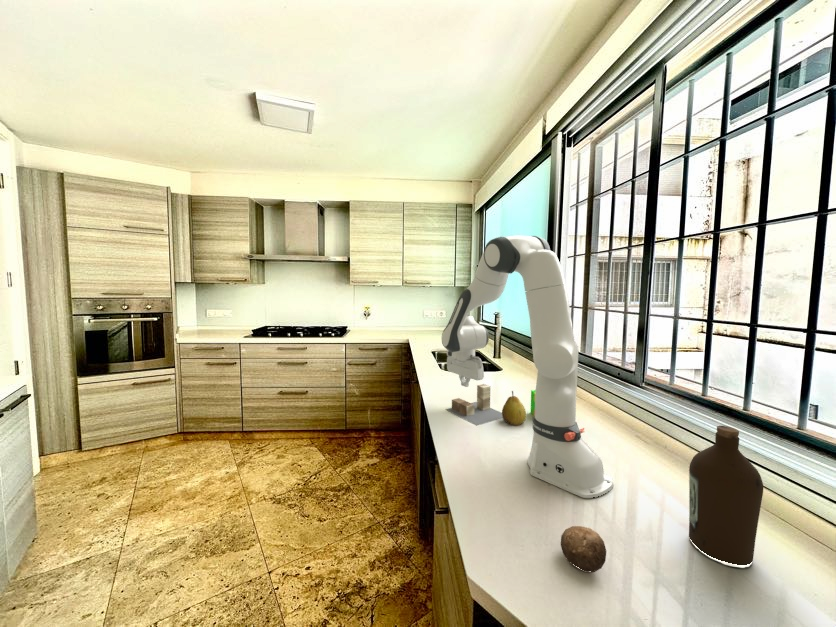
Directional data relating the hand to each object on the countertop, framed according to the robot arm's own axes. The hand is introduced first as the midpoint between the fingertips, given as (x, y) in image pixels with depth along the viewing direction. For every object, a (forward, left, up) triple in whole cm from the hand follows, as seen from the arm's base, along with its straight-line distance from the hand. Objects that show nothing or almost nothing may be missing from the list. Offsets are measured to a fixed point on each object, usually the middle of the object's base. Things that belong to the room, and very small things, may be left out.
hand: (464, 386), depth 137 cm
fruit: (-18, -9, -12) cm, 24 cm away
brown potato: (-70, +31, -12) cm, 78 cm away
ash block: (-1, -9, -11) cm, 15 cm away
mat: (-3, -3, -11) cm, 12 cm away
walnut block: (-4, +1, -9) cm, 10 cm away
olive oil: (-83, +5, -12) cm, 84 cm away
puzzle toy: (-22, -24, -12) cm, 35 cm away
